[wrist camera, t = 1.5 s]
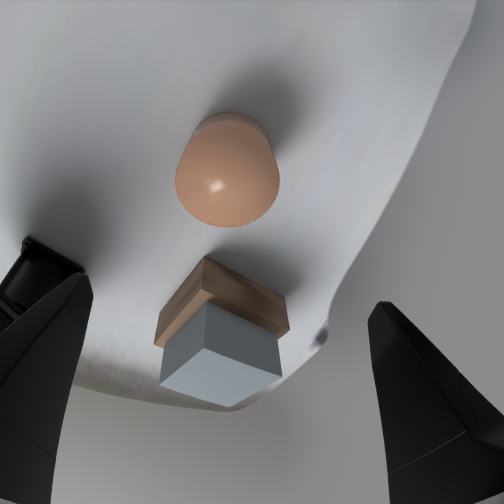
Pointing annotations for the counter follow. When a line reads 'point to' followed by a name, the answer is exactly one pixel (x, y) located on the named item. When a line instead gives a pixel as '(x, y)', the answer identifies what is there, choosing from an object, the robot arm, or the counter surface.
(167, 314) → the walnut slab
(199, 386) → the slate slab
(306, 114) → the counter surface
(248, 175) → the terracotta cylinder
